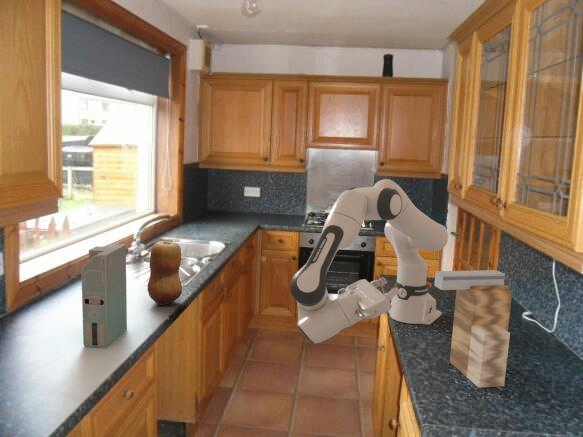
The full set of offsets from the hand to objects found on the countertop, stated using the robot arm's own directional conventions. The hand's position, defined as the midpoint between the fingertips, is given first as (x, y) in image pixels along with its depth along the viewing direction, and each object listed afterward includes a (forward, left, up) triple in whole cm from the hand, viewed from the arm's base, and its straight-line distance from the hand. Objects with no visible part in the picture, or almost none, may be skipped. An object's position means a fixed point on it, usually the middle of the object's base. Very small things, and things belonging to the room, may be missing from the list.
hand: (391, 284), depth 150 cm
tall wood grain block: (-20, +21, -26) cm, 39 cm away
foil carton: (-18, +15, 0) cm, 23 cm away
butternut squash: (+20, -92, -27) cm, 98 cm away
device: (+53, -74, -27) cm, 95 cm away
